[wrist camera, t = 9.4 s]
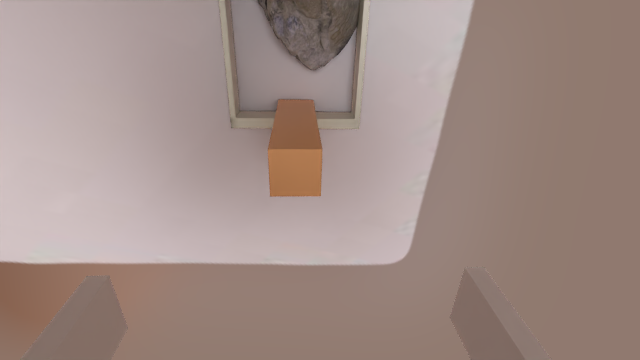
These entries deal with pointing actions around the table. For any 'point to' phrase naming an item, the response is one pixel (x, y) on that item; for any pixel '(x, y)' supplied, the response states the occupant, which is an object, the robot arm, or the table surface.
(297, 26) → the fossilized seashell
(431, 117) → the table surface
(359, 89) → the sled
